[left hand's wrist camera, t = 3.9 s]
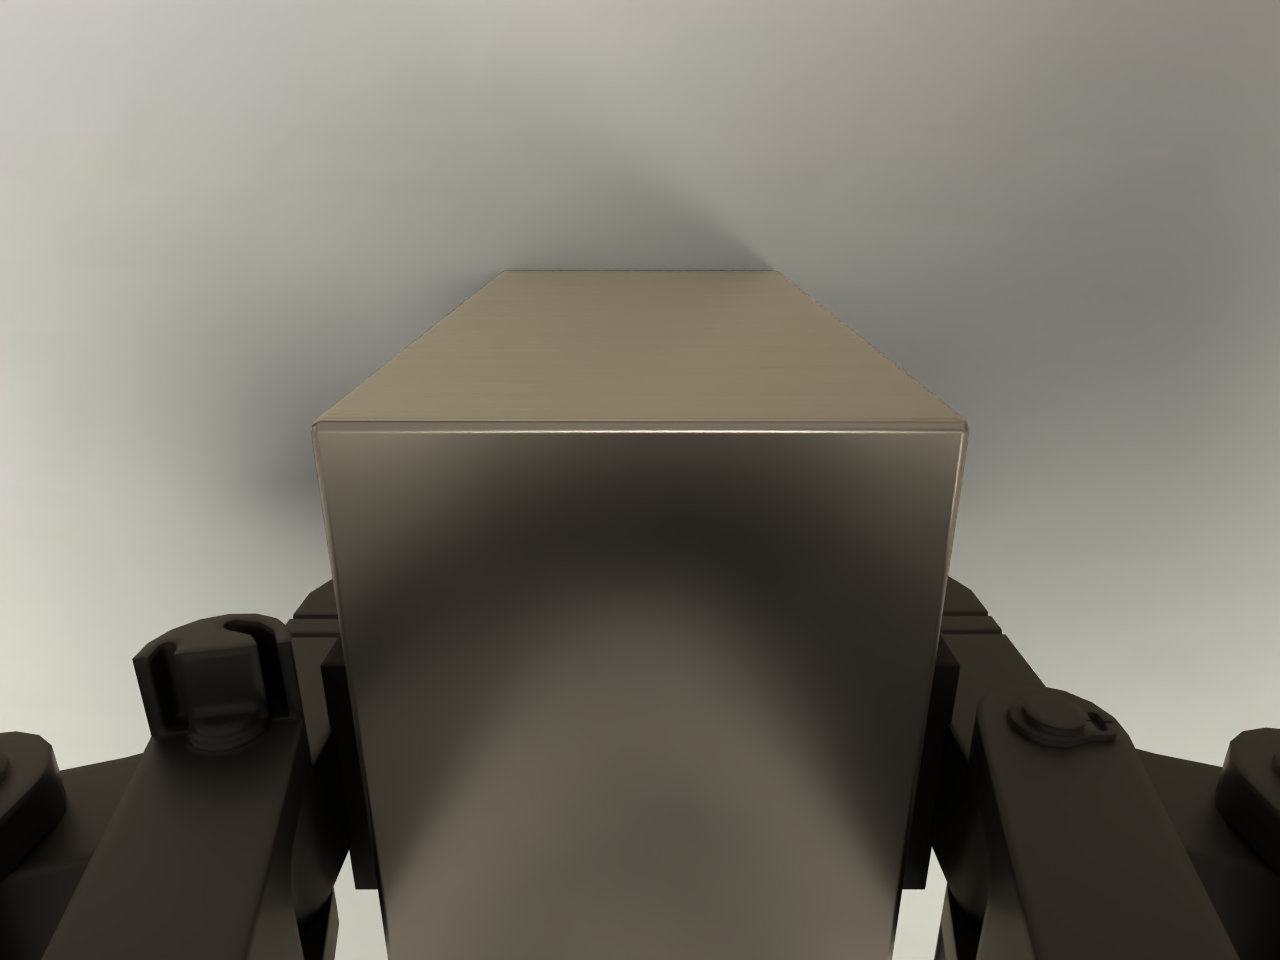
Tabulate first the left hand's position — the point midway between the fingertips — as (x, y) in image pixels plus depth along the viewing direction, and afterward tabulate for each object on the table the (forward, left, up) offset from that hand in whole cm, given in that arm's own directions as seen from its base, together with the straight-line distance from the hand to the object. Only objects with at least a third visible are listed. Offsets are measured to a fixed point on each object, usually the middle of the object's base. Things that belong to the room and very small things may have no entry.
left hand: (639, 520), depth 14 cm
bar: (+4, +7, -1) cm, 8 cm away
